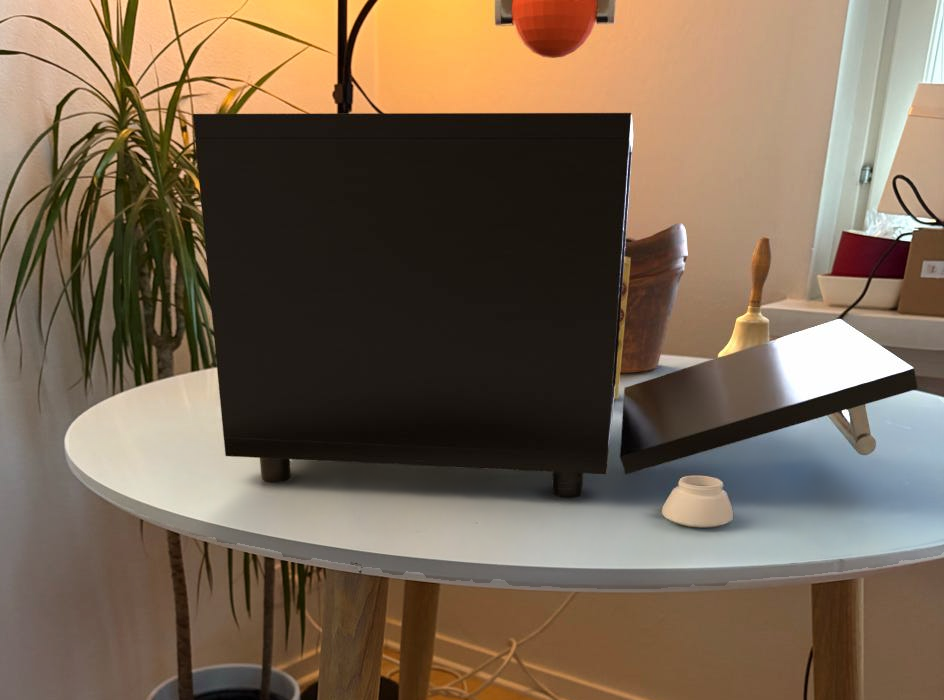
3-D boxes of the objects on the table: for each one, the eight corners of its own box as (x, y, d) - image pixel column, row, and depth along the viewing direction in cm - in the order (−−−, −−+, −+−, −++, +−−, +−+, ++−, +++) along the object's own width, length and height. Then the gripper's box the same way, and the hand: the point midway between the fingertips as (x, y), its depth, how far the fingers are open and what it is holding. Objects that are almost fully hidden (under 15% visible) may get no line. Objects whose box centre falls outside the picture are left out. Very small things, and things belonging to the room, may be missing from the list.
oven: (612, 421, 102) (633, 134, 91) (604, 507, 75) (631, 112, 64) (332, 410, 106) (318, 133, 95) (228, 486, 79) (192, 113, 68)
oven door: (643, 455, 102) (854, 393, 96) (645, 544, 77) (931, 466, 71) (624, 387, 99) (839, 318, 93) (619, 456, 74) (914, 368, 68)
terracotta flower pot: (518, 357, 139) (522, 219, 131) (652, 354, 142) (664, 219, 135) (551, 380, 123) (558, 224, 116) (701, 376, 126) (718, 225, 119)
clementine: (527, 65, 86) (530, -33, 83) (606, 62, 84) (611, -38, 81) (499, 54, 79) (501, -52, 76) (584, 51, 77) (589, -59, 74)
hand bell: (741, 352, 145) (755, 235, 138) (790, 359, 139) (807, 237, 132) (705, 357, 140) (718, 236, 133) (754, 365, 134) (771, 239, 127)
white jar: (694, 535, 69) (746, 524, 71) (698, 494, 68) (751, 484, 70) (647, 516, 73) (698, 506, 75) (651, 477, 72) (703, 468, 74)
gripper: (420, -197, 73) (422, 20, 79) (700, -212, 70) (682, 15, 76) (435, -170, 79) (437, 32, 85) (696, -182, 76) (679, 27, 82)
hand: (555, 24), depth 80 cm, fingers closed on clementine, 7 cm apart
